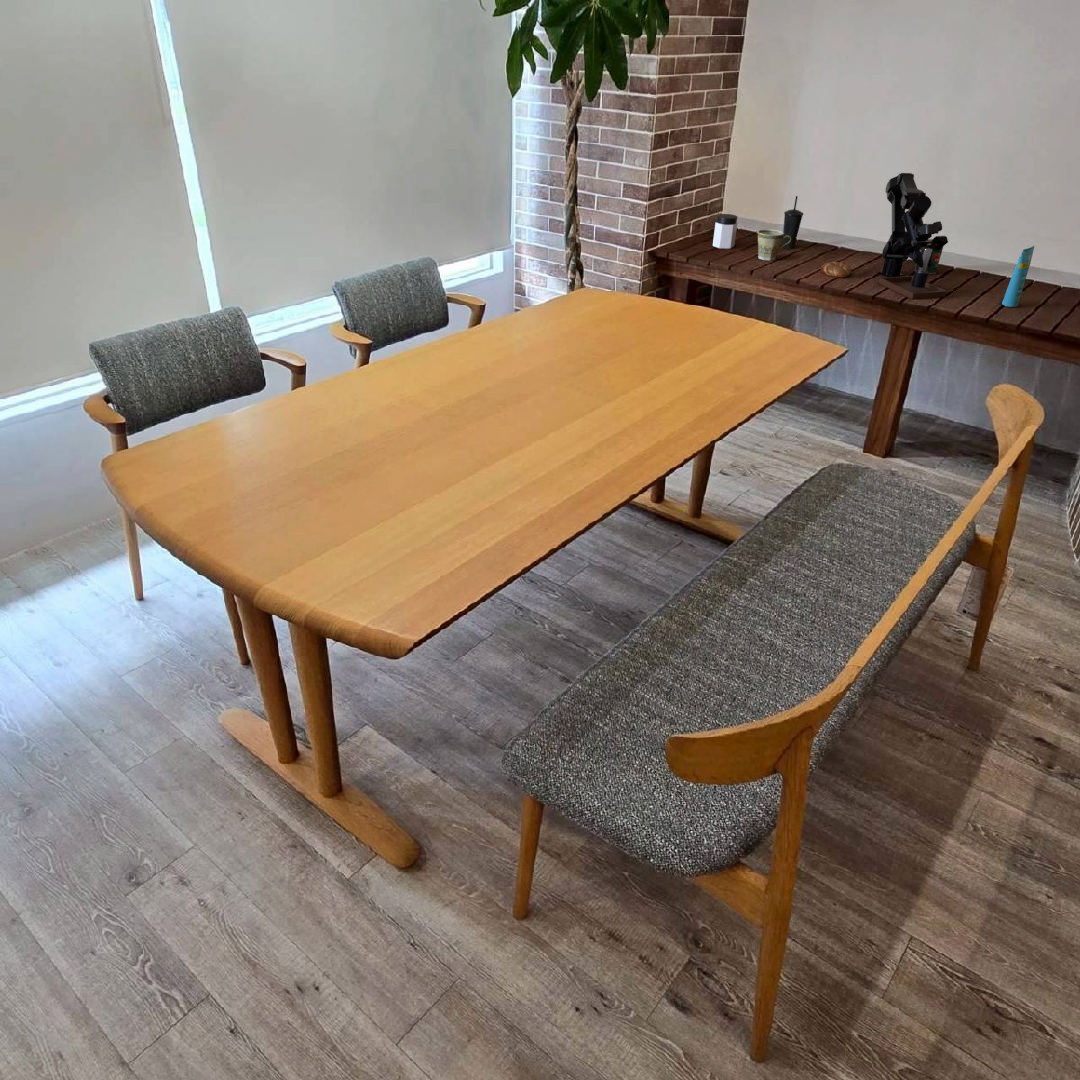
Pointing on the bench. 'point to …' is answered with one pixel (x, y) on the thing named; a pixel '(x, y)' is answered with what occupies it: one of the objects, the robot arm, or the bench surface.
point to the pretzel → (836, 269)
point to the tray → (911, 288)
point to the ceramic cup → (769, 243)
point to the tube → (1018, 278)
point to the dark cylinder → (922, 269)
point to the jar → (725, 231)
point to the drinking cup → (791, 226)
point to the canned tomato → (935, 260)
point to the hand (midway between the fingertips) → (925, 266)
